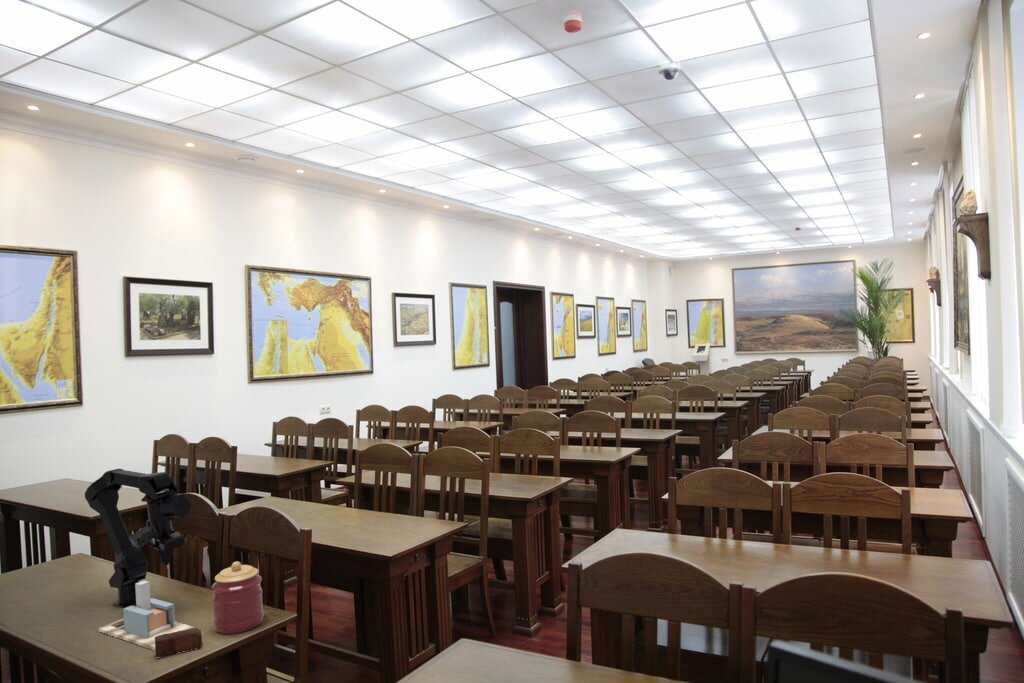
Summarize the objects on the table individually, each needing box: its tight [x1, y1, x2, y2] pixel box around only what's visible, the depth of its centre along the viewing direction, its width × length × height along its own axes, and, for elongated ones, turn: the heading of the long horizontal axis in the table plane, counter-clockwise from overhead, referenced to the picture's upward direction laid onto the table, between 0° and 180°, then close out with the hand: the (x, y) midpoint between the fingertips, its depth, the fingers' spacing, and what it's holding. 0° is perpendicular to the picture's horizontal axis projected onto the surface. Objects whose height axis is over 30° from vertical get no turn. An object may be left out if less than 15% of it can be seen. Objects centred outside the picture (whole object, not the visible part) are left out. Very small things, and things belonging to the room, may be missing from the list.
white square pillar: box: [135, 580, 171, 636], centre depth 181 cm, size 9×6×12 cm, turn 60°
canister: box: [211, 560, 265, 635], centre depth 183 cm, size 13×13×18 cm
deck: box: [97, 617, 197, 651], centre depth 181 cm, size 27×12×1 cm, turn 60°
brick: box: [154, 627, 203, 658], centre depth 169 cm, size 11×4×5 cm, turn 120°
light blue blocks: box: [123, 597, 176, 639], centre depth 181 cm, size 10×8×6 cm
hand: (166, 564), depth 199 cm, fingers closed
